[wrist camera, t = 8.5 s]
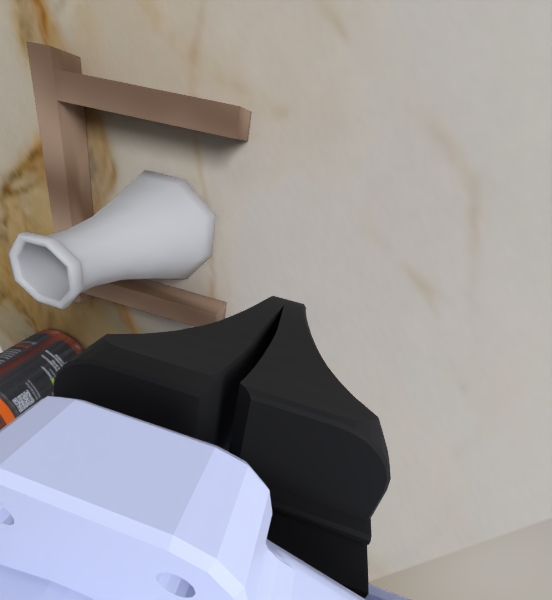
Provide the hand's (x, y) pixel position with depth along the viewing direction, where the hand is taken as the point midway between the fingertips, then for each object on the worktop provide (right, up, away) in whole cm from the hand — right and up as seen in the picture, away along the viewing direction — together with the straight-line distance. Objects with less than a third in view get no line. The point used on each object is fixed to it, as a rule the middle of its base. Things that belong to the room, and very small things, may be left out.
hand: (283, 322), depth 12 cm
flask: (-8, +6, +10) cm, 14 cm away
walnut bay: (-8, +7, +9) cm, 14 cm away
